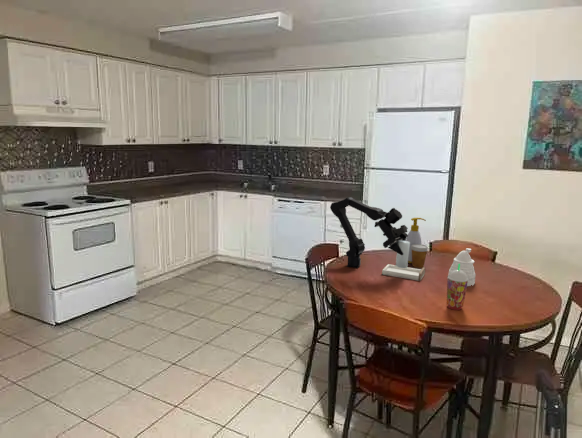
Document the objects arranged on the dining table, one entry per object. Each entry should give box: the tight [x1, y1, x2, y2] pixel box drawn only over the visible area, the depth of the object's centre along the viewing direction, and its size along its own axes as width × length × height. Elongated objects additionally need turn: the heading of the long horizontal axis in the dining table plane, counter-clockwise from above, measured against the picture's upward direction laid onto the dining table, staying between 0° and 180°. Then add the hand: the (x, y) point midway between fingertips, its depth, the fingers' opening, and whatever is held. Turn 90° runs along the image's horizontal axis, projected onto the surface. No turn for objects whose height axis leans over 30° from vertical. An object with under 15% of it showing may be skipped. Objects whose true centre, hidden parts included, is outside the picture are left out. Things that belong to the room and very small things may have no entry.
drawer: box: [381, 263, 426, 282], centre depth 229 cm, size 20×12×4 cm, turn 63°
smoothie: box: [446, 264, 468, 311], centre depth 184 cm, size 8×8×20 cm
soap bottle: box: [406, 217, 426, 264], centre depth 251 cm, size 11×12×26 cm
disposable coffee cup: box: [411, 243, 429, 269], centre depth 243 cm, size 10×10×12 cm
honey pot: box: [448, 248, 476, 287], centre depth 218 cm, size 13×13×18 cm
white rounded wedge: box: [395, 241, 410, 268], centre depth 221 cm, size 6×6×13 cm
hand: (405, 253), depth 220 cm, fingers closed on white rounded wedge, 6 cm apart
